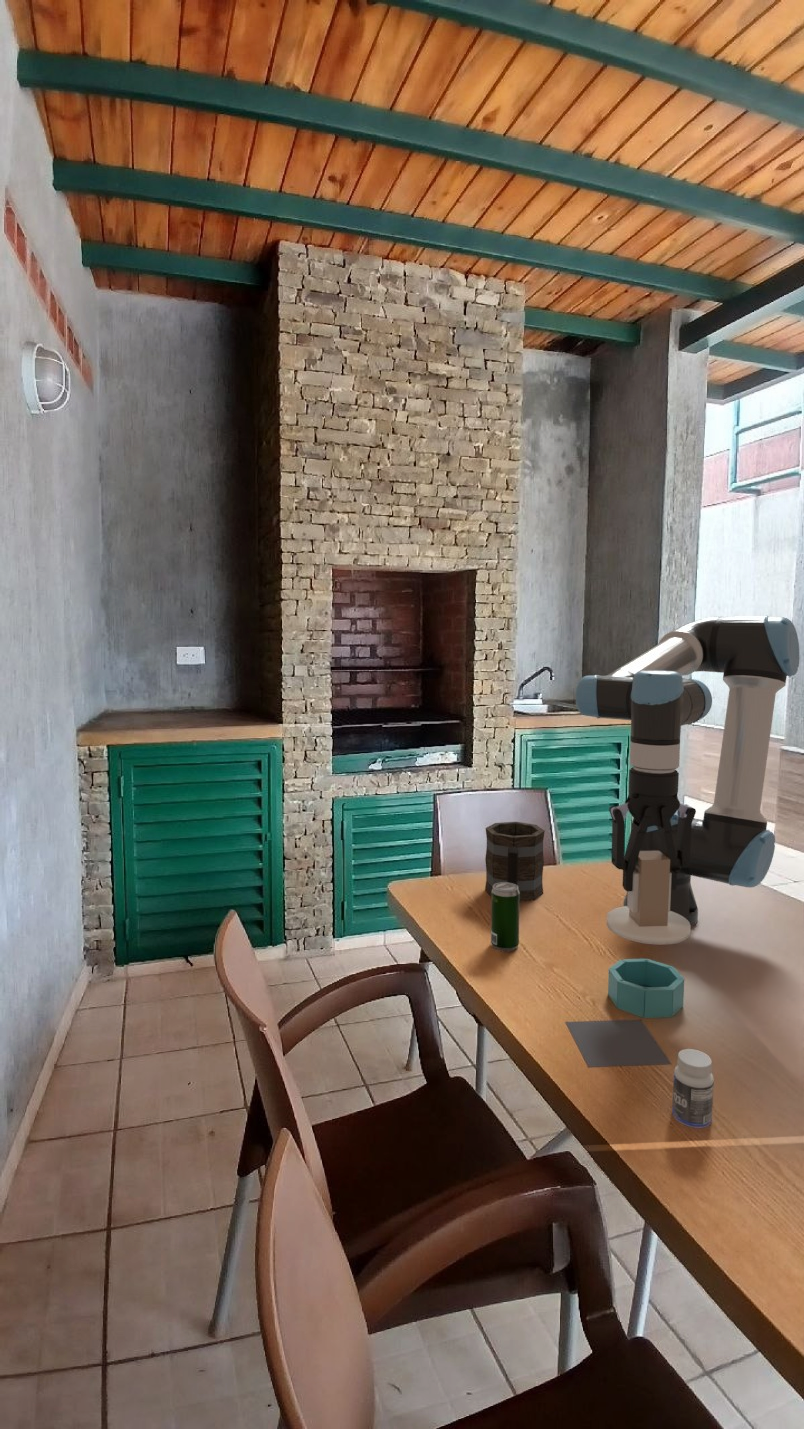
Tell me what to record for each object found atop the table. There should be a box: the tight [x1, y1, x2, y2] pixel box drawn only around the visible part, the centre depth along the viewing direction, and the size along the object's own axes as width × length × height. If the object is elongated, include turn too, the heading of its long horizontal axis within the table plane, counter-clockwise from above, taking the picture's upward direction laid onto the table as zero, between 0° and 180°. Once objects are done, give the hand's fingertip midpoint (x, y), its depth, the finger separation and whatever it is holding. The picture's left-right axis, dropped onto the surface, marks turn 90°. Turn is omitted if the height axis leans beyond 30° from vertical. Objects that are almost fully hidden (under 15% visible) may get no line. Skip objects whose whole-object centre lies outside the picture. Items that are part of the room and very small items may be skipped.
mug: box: [484, 821, 546, 903], centre depth 172 cm, size 20×14×15 cm
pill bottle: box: [671, 1048, 715, 1129], centre depth 95 cm, size 5×5×8 cm
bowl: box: [607, 958, 685, 1019], centre depth 125 cm, size 11×11×5 cm
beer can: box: [490, 882, 520, 952], centre depth 146 cm, size 5×5×12 cm
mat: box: [565, 1018, 673, 1068], centre depth 113 cm, size 12×12×1 cm
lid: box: [606, 851, 692, 946], centre depth 122 cm, size 13×13×12 cm
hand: (648, 908), depth 123 cm, fingers closed on lid, 5 cm apart
